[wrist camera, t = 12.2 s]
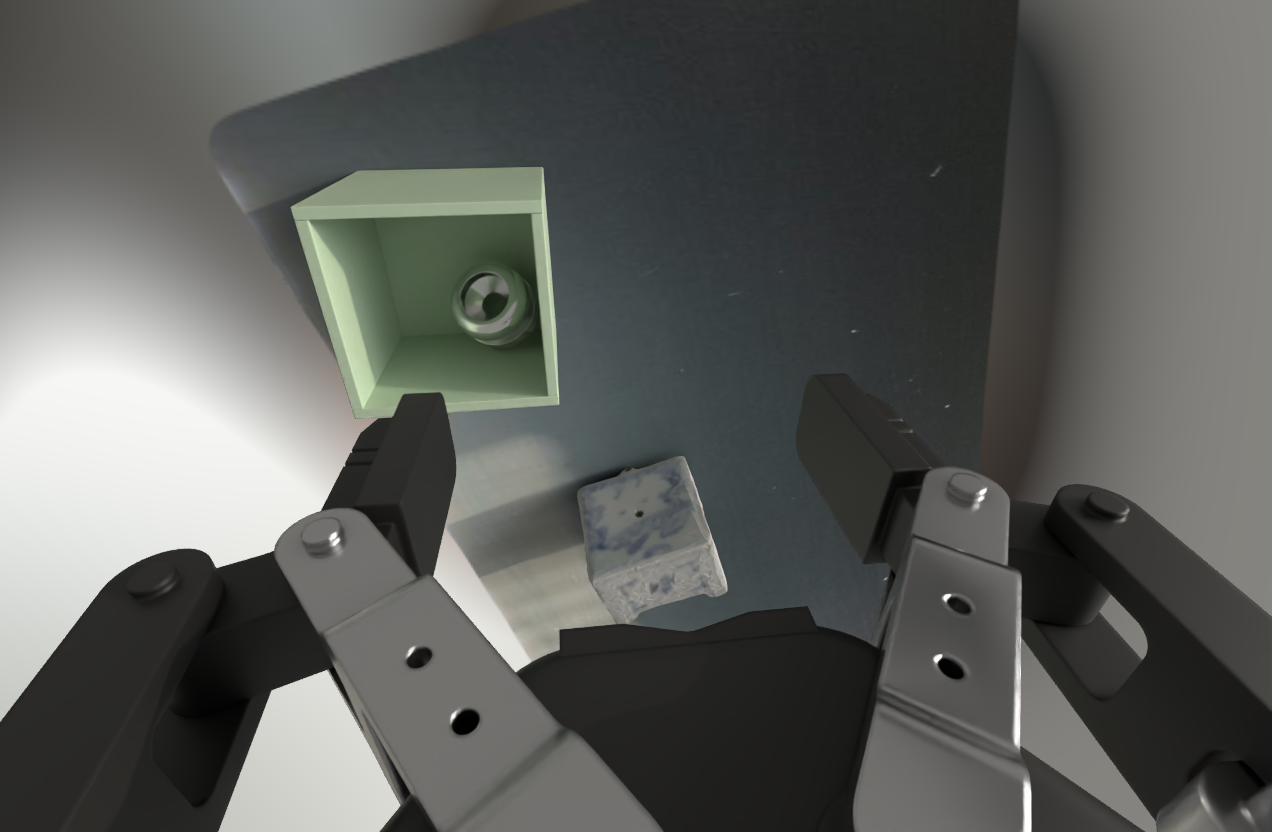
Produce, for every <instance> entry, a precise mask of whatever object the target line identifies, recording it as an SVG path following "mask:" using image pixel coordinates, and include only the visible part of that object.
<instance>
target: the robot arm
mask: <svg viewBox="0 0 1272 832" xmlns="http://www.w3.org/2000/svg"><path fill="white" fill-rule="evenodd" d="M796 447H797V452H798V456H799V458H800V460H801V462H802V464H803V465H804V467H805V469H806V470H807V472H808V473H809V475H810V477H811V478H812V480H813V482H814V483H815V485H816V487H817V488H818V490H819V492H820V493H821V495H822V497H823V498H824V500H825V502H826V503H827V505H828V507H829V508H830V510H831V511H832V513H833V515H834V516H835V518H836V520H837V521H838V523H839V525H840V526H841V528H842V530H843V531H844V533H845V535H846V536H847V538H848V540H849V541H850V543H851V545H852V546H853V548H854V549H855V551H856V553H857V554H858V556H859V558H860V559H861V561H862V563H863V564H873V563H884V562H887V563H888V564H889V566H890V567H891V569H890V572H889V575H888V578H887V580H886V584H885V588H884V591H883V595H882V599H881V603H880V606H879V610H878V614H877V617H876V621H875V625H874V629H873V632H872V636H871V640H870V643H868V642H866V641H864V640H861V639H859V638H857V637H855V636H852V635H849V634H846V633H843V632H841V631H837V630H833V629H829V628H825V627H819V626H816V624H815V621H814V619H813V617H812V615H811V613H810V610H809V608H808V606H805V607H795V608H784V609H774V610H763V611H752V612H747V613H744V614H741V615H738V616H736V617H733V618H730V619H727V620H724V621H721V622H718V623H716V624H713V625H710V626H707V627H704V628H701V629H698V630H695V631H690V632H683V631H675V630H667V629H660V628H652V627H644V626H636V625H628V624H615V625H605V626H594V627H583V628H573V629H562V630H560V650H558V651H556V652H553V653H550V654H547V655H545V656H543V657H541V658H539V659H537V660H535V661H533V662H531V663H530V664H528V665H526V666H525V667H523V668H521V669H520V670H519V671H517V672H516V673H515V672H514V670H513V669H512V668H511V667H510V666H509V664H508V663H507V662H506V661H505V660H504V659H503V657H502V656H501V655H500V654H499V653H498V652H497V650H496V649H495V648H494V647H493V646H492V645H491V643H490V642H489V641H488V640H487V639H486V638H485V637H484V635H483V634H482V633H481V632H480V631H479V629H478V628H477V627H476V626H475V625H474V624H473V622H472V621H471V620H470V619H469V618H468V617H467V616H466V614H465V613H464V612H463V611H462V610H461V608H460V607H459V606H458V605H457V604H456V603H455V601H454V600H453V599H452V598H451V597H450V596H449V594H448V593H447V592H446V591H445V590H444V589H443V588H442V586H441V585H440V584H439V583H438V582H437V580H436V579H435V578H434V577H433V575H434V570H435V566H436V562H437V557H438V553H439V549H440V544H441V540H442V536H443V531H444V527H445V523H446V518H447V514H448V510H449V506H450V501H451V497H452V493H453V488H454V484H455V479H456V457H455V450H454V445H453V440H452V435H451V430H450V425H449V419H448V414H447V409H446V404H445V400H444V397H443V395H442V393H441V392H431V393H410V394H403V395H402V397H401V399H400V402H399V404H398V406H397V408H396V411H395V413H394V415H393V417H392V418H378V419H377V420H376V421H375V422H373V423H372V424H371V425H370V426H369V427H367V428H366V429H365V430H364V431H363V432H361V434H360V435H359V437H358V439H357V441H356V443H355V445H354V447H353V449H352V453H350V455H349V457H348V459H347V461H346V463H345V467H343V469H342V470H341V472H340V474H339V477H338V479H337V480H336V482H335V484H334V486H333V488H332V490H331V492H330V494H329V496H328V498H327V500H326V502H325V504H324V506H323V508H322V510H321V511H320V512H316V513H314V514H311V515H309V516H307V517H305V518H303V519H301V520H299V521H298V522H296V523H294V524H293V525H292V526H290V527H289V528H288V529H287V530H286V531H285V532H284V533H283V534H282V535H281V537H280V538H279V539H278V541H277V543H276V545H275V549H274V551H272V552H270V553H267V554H264V555H261V556H258V557H254V558H250V559H247V560H244V561H240V562H236V563H233V564H230V565H226V566H222V567H219V568H216V567H215V565H214V563H213V561H212V560H211V558H210V556H209V555H207V554H206V553H204V552H203V551H200V550H196V549H177V550H170V551H166V552H162V553H159V554H156V555H153V556H150V557H148V558H146V559H143V560H141V561H139V562H137V563H135V564H133V565H131V566H130V567H128V568H127V569H125V570H123V571H122V572H120V573H119V574H118V575H116V576H115V577H114V578H113V579H112V580H110V581H109V582H108V583H107V584H106V585H105V586H104V587H103V589H102V590H101V591H100V592H99V594H98V595H97V596H96V597H95V599H94V600H93V601H92V603H91V604H90V605H89V607H88V608H87V609H86V611H85V612H84V613H83V614H82V616H81V617H80V618H79V620H78V621H77V622H76V624H75V625H74V626H73V628H72V629H71V630H70V631H69V633H68V634H67V635H66V637H65V638H64V639H63V641H62V642H61V643H60V645H59V646H58V647H57V649H56V650H55V651H54V652H53V654H52V655H51V656H50V658H49V659H48V660H47V662H46V663H45V664H44V665H43V667H42V668H41V669H40V671H39V672H38V674H37V675H36V676H35V677H34V679H33V680H32V681H31V683H30V684H29V685H28V687H27V688H26V689H25V690H24V692H23V693H22V694H21V696H20V697H19V698H18V700H17V701H16V702H15V703H14V705H13V706H12V707H11V709H10V710H9V711H8V713H7V714H6V715H5V717H4V718H3V719H2V721H1V722H0V832H218V831H219V828H220V825H221V823H222V820H223V817H224V815H225V812H226V809H227V807H228V804H229V802H230V799H231V796H232V794H233V791H234V788H235V786H236V783H237V780H238V778H239V775H240V772H241V770H242V767H243V764H244V762H245V759H246V757H247V754H248V751H249V748H250V746H251V743H252V741H253V738H254V735H255V733H256V730H257V727H258V725H259V722H260V719H261V717H262V714H263V711H264V709H265V706H266V703H267V701H268V698H269V695H270V693H271V690H274V689H276V688H279V687H282V686H284V685H287V684H290V683H293V682H295V681H298V680H300V679H303V678H306V677H309V676H312V675H314V674H317V673H319V672H322V671H325V670H327V671H328V672H329V674H330V676H331V677H332V680H333V681H334V683H335V685H336V687H337V688H338V690H339V692H340V694H341V696H342V697H343V699H344V701H345V703H346V705H347V706H348V708H349V710H350V712H351V713H352V715H353V717H354V719H355V721H356V722H357V724H358V726H359V728H360V730H361V731H362V733H363V735H364V737H365V739H366V740H367V742H368V744H369V746H370V748H371V749H372V751H373V753H374V755H375V757H376V759H377V761H378V763H379V765H380V767H381V769H382V771H383V773H384V775H385V777H386V779H387V781H388V783H389V785H390V786H391V788H392V790H393V792H394V794H395V796H396V798H397V800H398V801H399V803H400V805H401V806H400V807H399V809H398V810H397V811H396V812H395V814H394V815H393V816H392V817H391V818H390V820H389V821H388V822H387V823H386V825H385V826H384V827H383V828H382V829H381V831H380V832H1145V831H1143V830H1142V829H1140V828H1139V827H1137V826H1136V825H1134V824H1133V823H1132V822H1130V821H1129V820H1127V819H1126V818H1124V817H1123V816H1121V815H1120V814H1119V813H1117V812H1116V811H1114V810H1113V809H1111V808H1110V807H1108V806H1107V805H1106V804H1104V803H1103V802H1101V801H1100V800H1098V799H1097V798H1095V797H1094V796H1092V795H1091V794H1090V793H1088V792H1087V791H1085V790H1084V789H1082V788H1081V787H1079V786H1078V785H1076V784H1075V783H1074V782H1072V781H1070V780H1069V779H1068V778H1066V777H1065V776H1063V775H1062V774H1061V773H1059V772H1058V771H1056V770H1055V769H1053V768H1052V767H1050V766H1049V765H1048V764H1046V763H1045V762H1043V761H1042V760H1040V759H1039V758H1037V757H1036V756H1035V755H1033V754H1032V753H1030V752H1029V751H1027V750H1026V749H1024V748H1023V747H1021V746H1020V665H1021V664H1020V663H1021V659H1020V658H1021V637H1022V639H1023V640H1024V641H1025V643H1026V644H1027V646H1028V647H1029V648H1030V649H1031V651H1032V652H1033V653H1034V655H1035V656H1036V658H1037V659H1038V660H1039V662H1040V663H1041V665H1042V666H1043V667H1044V669H1045V670H1046V672H1047V673H1048V674H1049V676H1050V677H1051V678H1052V680H1053V681H1054V682H1055V684H1056V685H1057V686H1058V688H1059V689H1060V691H1061V692H1062V693H1063V695H1064V696H1065V698H1066V699H1067V700H1068V702H1069V703H1070V704H1071V706H1072V707H1073V708H1074V710H1075V711H1076V712H1077V714H1078V715H1079V717H1080V718H1081V719H1082V721H1083V722H1084V724H1085V725H1086V726H1087V727H1088V729H1089V730H1090V732H1091V733H1092V735H1093V736H1094V737H1095V738H1096V740H1097V741H1098V743H1099V744H1100V746H1101V747H1102V748H1103V750H1104V751H1105V752H1106V753H1107V755H1108V756H1109V758H1110V759H1111V760H1112V762H1113V763H1114V765H1115V766H1116V767H1117V769H1118V770H1119V772H1120V773H1121V774H1122V776H1123V777H1124V778H1125V780H1126V781H1127V782H1128V784H1129V785H1130V786H1131V788H1132V789H1133V791H1134V792H1135V793H1136V795H1137V796H1138V797H1139V799H1140V800H1141V802H1142V803H1143V804H1144V806H1145V807H1146V809H1147V810H1148V811H1149V813H1150V814H1151V815H1152V817H1153V818H1154V819H1155V821H1156V827H1157V832H1272V616H1270V615H1269V614H1268V613H1267V612H1266V611H1264V610H1263V609H1262V608H1261V607H1259V606H1258V605H1257V604H1256V603H1255V602H1254V601H1252V600H1251V599H1250V598H1249V597H1248V596H1246V595H1245V594H1244V593H1243V592H1241V591H1240V590H1239V589H1238V588H1237V587H1236V586H1234V585H1233V584H1232V583H1230V581H1228V580H1227V579H1226V578H1225V577H1224V576H1222V575H1221V574H1220V573H1219V572H1218V571H1216V570H1215V569H1214V568H1212V567H1211V566H1210V565H1209V564H1208V563H1207V562H1206V561H1204V560H1203V559H1202V558H1201V557H1199V556H1198V555H1197V554H1196V553H1195V552H1194V551H1192V550H1191V549H1190V548H1189V547H1188V546H1186V545H1185V544H1184V543H1183V542H1182V541H1180V540H1179V539H1178V538H1177V537H1175V536H1174V535H1173V534H1172V533H1171V532H1169V531H1168V530H1167V529H1166V528H1165V527H1163V526H1162V525H1161V524H1160V523H1159V522H1157V521H1156V520H1155V519H1154V518H1153V517H1151V516H1150V515H1149V514H1148V513H1147V512H1145V511H1144V510H1143V509H1142V508H1140V507H1139V506H1138V505H1137V504H1135V503H1133V502H1132V501H1130V500H1128V499H1127V498H1125V497H1123V496H1121V495H1119V494H1116V493H1114V492H1111V491H1109V490H1106V489H1102V488H1099V487H1094V486H1089V485H1081V484H1073V485H1067V486H1064V487H1062V488H1060V489H1059V490H1058V492H1057V494H1056V496H1055V498H1054V499H1053V501H1052V503H1051V505H1050V506H1049V505H1043V504H1036V503H1029V502H1022V501H1015V500H1009V497H1008V495H1007V494H1006V492H1005V491H1004V490H1003V489H1002V488H1001V487H1000V486H999V485H998V484H997V483H995V482H994V481H992V480H991V479H989V478H988V477H986V476H984V475H982V474H979V473H977V472H974V471H971V470H968V469H964V468H959V467H950V466H946V464H945V463H944V462H943V461H942V460H941V459H940V458H939V457H938V456H937V455H936V454H935V453H934V452H933V451H932V450H931V449H930V448H929V447H928V446H927V444H926V443H925V442H924V441H923V440H922V439H921V438H920V437H919V436H918V435H917V434H916V433H913V430H912V429H911V428H910V427H909V426H908V425H907V423H906V422H905V421H904V422H902V418H901V417H900V416H899V415H898V414H897V413H896V412H895V411H894V410H893V409H892V408H891V407H890V406H889V405H888V404H886V403H885V402H883V401H881V400H879V399H878V398H876V397H874V396H872V395H871V394H865V393H864V392H863V391H862V390H861V389H860V388H859V387H858V386H857V385H856V383H855V382H854V381H853V380H852V379H851V378H850V377H849V376H848V375H847V374H844V373H841V374H821V375H811V376H810V377H809V378H808V380H807V383H806V387H805V392H804V397H803V402H802V407H801V412H800V417H799V422H798V427H797V432H796ZM1110 595H1112V596H1113V597H1114V598H1115V599H1116V600H1117V601H1118V602H1119V603H1120V604H1121V605H1122V606H1123V607H1124V608H1125V609H1126V610H1127V611H1128V612H1129V613H1130V615H1132V617H1133V618H1134V619H1136V621H1137V622H1138V623H1139V624H1140V626H1141V627H1142V629H1143V631H1144V633H1145V635H1146V638H1147V643H1148V650H1147V654H1146V656H1145V658H1144V659H1143V660H1142V659H1141V658H1140V657H1139V656H1138V655H1137V654H1136V652H1135V651H1134V650H1133V649H1132V648H1131V647H1130V646H1129V645H1128V644H1127V643H1126V641H1125V640H1124V639H1123V638H1122V637H1121V636H1120V635H1119V634H1118V632H1117V631H1115V629H1114V628H1113V627H1112V626H1111V625H1110V624H1109V623H1108V621H1107V620H1106V619H1105V618H1104V617H1103V616H1102V615H1101V614H1100V613H1099V611H1100V609H1101V608H1102V606H1103V605H1104V603H1105V602H1106V601H1107V599H1108V597H1109V596H1110Z"/></svg>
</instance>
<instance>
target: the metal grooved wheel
mask: <svg viewBox="0 0 1272 832" xmlns="http://www.w3.org/2000/svg"><path fill="white" fill-rule="evenodd" d="M500 301H505V308H504V310H503V311H502V312H501V313H500V314H499V315H496V316H492V310H493V307H494V306H495V305H496V304H497V303H498V302H500ZM450 308H451V313H452V316H453V318H454V320H455V322H456V324H457V325H458V326H459V328H460V329H461V330H462V331H464V332H465V333H466V334H468V335H469V336H471V337H473V338H474V339H476V340H477V341H479V342H480V343H482V344H484V345H486V346H488V347H491V348H495V349H506V348H510V347H513V346H516V345H518V344H520V343H521V342H523V341H524V340H525V339H526V338H527V337H528V336H529V335H530V334H531V333H532V331H533V330H534V328H535V326H536V324H537V321H538V318H539V311H540V310H539V300H538V297H537V295H536V293H535V291H534V289H533V288H532V287H531V286H530V285H529V284H528V283H527V281H526V280H525V279H523V277H522V276H521V275H520V274H519V273H518V272H517V271H516V270H515V269H514V268H512V267H511V266H509V265H507V264H505V263H502V262H497V261H486V262H481V263H478V264H475V265H473V266H471V267H470V268H468V269H467V270H466V271H464V272H463V273H462V274H461V275H460V277H459V278H458V279H457V281H456V283H455V284H454V287H453V289H452V292H451V297H450Z"/></svg>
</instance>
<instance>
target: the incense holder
mask: <svg viewBox="0 0 1272 832" xmlns="http://www.w3.org/2000/svg"><path fill="white" fill-rule="evenodd" d="M577 499H578V504H579V509H580V517H581V523H582V530H583V535H584V543H585V551H586V561H587V571H588V576H589V580H590V582H591V584H592V586H593V588H594V589H595V591H596V592H597V594H598V596H599V597H600V599H601V600H602V602H603V603H604V604H605V606H606V607H607V609H608V611H609V612H610V613H611V615H612V616H613V618H614V620H615V622H616V624H627V623H629V622H631V621H633V620H634V619H635V618H637V616H638V614H639V613H640V612H642V611H645V610H648V609H650V608H652V607H655V606H659V605H663V604H667V603H672V602H675V601H678V600H683V599H685V598H687V597H692V596H696V595H699V594H702V593H705V594H707V595H708V596H710V597H715V596H720V595H722V594H725V593H726V592H727V583H726V578H725V575H724V572H723V569H722V566H721V563H720V560H719V557H718V554H717V550H716V547H715V544H714V541H713V539H712V536H711V533H710V531H709V527H708V524H707V522H706V519H705V516H704V512H703V507H702V503H701V501H700V499H699V495H698V493H697V488H696V487H695V483H694V480H693V478H692V475H691V472H690V470H689V468H688V465H687V462H686V460H685V458H684V456H676V457H673V458H670V459H667V460H664V461H661V462H658V463H656V464H653V465H651V466H648V467H645V468H641V469H634V468H626V469H625V470H623V471H622V472H621V473H620V475H618V476H617V477H614V478H610V479H607V480H603V481H600V482H597V483H593V484H590V485H586V486H584V487H582V488H581V489H579V490H578V493H577Z"/></svg>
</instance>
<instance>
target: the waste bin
mask: <svg viewBox="0 0 1272 832" xmlns="http://www.w3.org/2000/svg"><path fill="white" fill-rule="evenodd" d="M291 211H292V214H293V218H294V220H295V224H296V227H297V231H298V234H299V237H300V241H301V244H302V247H303V250H304V254H305V257H306V260H307V263H308V267H309V270H310V273H311V277H312V280H313V283H314V286H315V290H316V293H317V296H318V299H319V303H320V306H321V309H322V313H323V316H324V319H325V322H326V326H327V329H328V332H329V336H330V339H331V342H332V345H333V349H334V352H335V355H336V358H337V362H338V365H339V368H340V372H341V375H342V378H343V381H344V385H345V388H346V391H347V394H348V397H349V401H350V404H351V408H352V409H353V410H352V411H353V414H354V417H355V419H361V418H375V417H390V416H393V415H394V413H395V411H396V408H397V406H398V404H399V402H400V399H401V397H402V395H403V394H410V393H431V392H441V393H442V395H443V397H444V400H445V404H446V409H447V413H448V412H463V411H478V410H492V409H507V408H521V407H536V406H551V405H559V392H558V367H557V342H556V325H555V312H554V299H553V287H552V274H551V262H550V249H549V237H548V224H547V212H546V199H545V187H544V174H543V167H518V168H469V169H420V170H371V171H357V172H355V173H353V174H351V175H349V176H347V177H345V178H344V179H342V180H340V181H338V182H336V183H334V184H332V185H331V186H329V187H327V188H325V189H323V190H321V191H319V192H318V193H316V194H314V195H312V196H310V197H308V198H306V199H305V200H303V201H301V202H299V203H297V204H295V205H294V206H292V207H291ZM486 261H497V262H502V263H505V264H507V265H509V266H511V267H512V268H514V269H515V270H516V271H517V272H518V273H519V274H520V275H521V276H522V277H523V279H525V280H526V281H527V283H528V284H529V285H530V286H531V287H532V288H533V289H534V291H535V293H536V295H537V297H538V300H539V310H540V311H539V318H538V321H537V324H536V326H535V328H534V330H533V331H532V333H531V334H530V335H529V336H528V337H527V338H526V339H525V340H524V341H523V342H521V343H520V344H518V345H516V346H513V347H510V348H506V349H495V348H491V347H488V346H486V345H484V344H482V343H480V342H479V341H477V340H476V339H474V338H473V337H471V336H469V335H468V334H466V333H465V332H464V331H462V330H461V329H460V328H459V326H458V325H457V324H456V322H455V320H454V318H453V316H452V313H451V308H450V297H451V292H452V289H453V287H454V284H455V283H456V281H457V279H458V278H459V277H460V275H461V274H462V273H463V272H464V271H466V270H467V269H468V268H470V267H471V266H473V265H475V264H478V263H481V262H486ZM504 308H505V301H500V302H498V303H497V304H496V305H495V306H494V307H493V310H492V316H496V315H499V314H500V313H501V312H502V311H503V310H504Z"/></svg>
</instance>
